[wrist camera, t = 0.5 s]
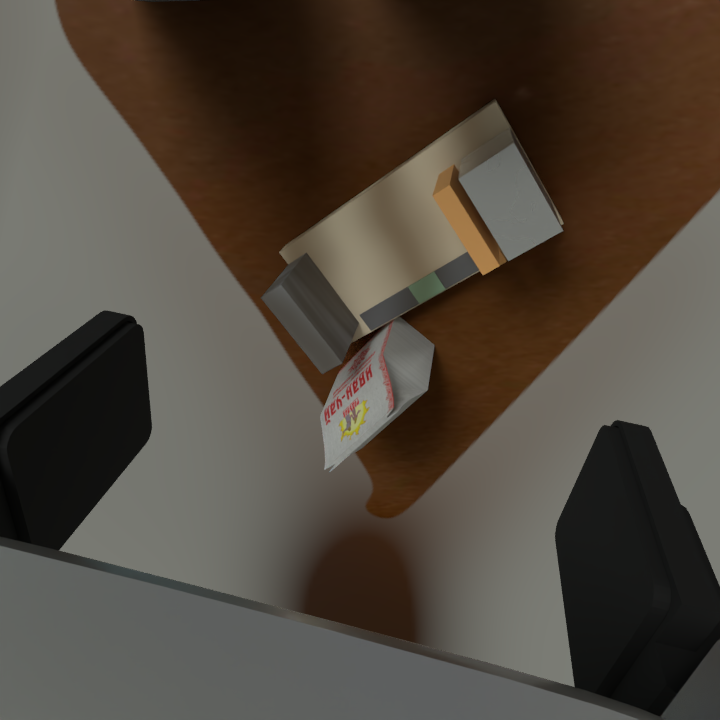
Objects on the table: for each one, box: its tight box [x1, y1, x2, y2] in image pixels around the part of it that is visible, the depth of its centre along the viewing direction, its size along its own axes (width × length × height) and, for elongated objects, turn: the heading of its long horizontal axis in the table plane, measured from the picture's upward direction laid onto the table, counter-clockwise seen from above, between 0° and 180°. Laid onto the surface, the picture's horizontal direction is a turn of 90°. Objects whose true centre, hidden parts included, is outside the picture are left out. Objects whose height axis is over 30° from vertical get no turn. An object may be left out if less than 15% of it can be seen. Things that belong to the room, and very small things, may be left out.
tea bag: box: [320, 316, 435, 472], centre depth 37 cm, size 4×7×10 cm, turn 142°
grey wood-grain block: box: [458, 127, 563, 261], centre depth 30 cm, size 3×5×5 cm, turn 36°
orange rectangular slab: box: [432, 164, 507, 275], centre depth 31 cm, size 1×6×5 cm, turn 36°
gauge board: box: [261, 99, 564, 374], centre depth 33 cm, size 16×8×7 cm, turn 126°
